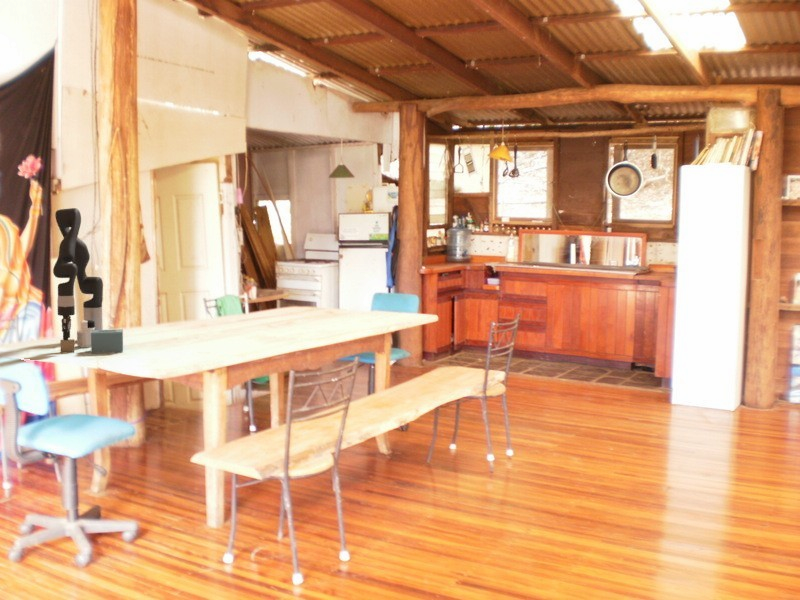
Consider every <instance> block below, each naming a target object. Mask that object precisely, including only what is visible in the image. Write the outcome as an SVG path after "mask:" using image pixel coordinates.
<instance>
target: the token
mask: <svg viewBox="0 0 800 600" xmlns="http://www.w3.org/2000/svg"><path fill="white" fill-rule="evenodd" d="M59 341H60V342H59V343H60V353H61V352H67V353H75V352H74V351H76V349H75V339H71V338H68V340H63V339H60V340H59Z"/></svg>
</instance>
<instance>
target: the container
mask: <svg viewBox="0 0 800 600" xmlns="http://www.w3.org/2000/svg"><path fill="white" fill-rule="evenodd" d="M94 329H95V322H94V321H93V320H84V319H83V320H82V321H80V330H77V331H76V346H77V347H81V348H85V347H87V348H91V332H92V330H94Z"/></svg>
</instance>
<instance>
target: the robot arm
mask: <svg viewBox="0 0 800 600" xmlns="http://www.w3.org/2000/svg"><path fill="white" fill-rule="evenodd" d="M55 220H56V221H55V222H56V224H57V226H58V228H59V231H60V233H61V235H62V237H63V238H62V240H61V242H60V244H59V247H58V256H57V260H56V262H55V264H54V267H53V269H52V273H53V275H54V277H55V278H58V279H68V281H65V282H61V283H58V285H57V301H56V302H57V316H60V317H62V319H61V320H60V321H61V332H62V340H68V339H71V329H72V328H71V327H72V318H71V316H74V315H75V313H76V312H75V309H76V308H75V306H76V305H75V295H74V293H75V291H74V290H75V287H74V286H75V281H76V279H77V284H78V287H79V290H80V292H81V293H82V294H83V295H84V294H85V295H92V298H90V299H88V300H86V301H85V300H84V302H83V303H82V305H83V306H82V307H83V309H82V310H83V311H82V312H83V320H93V321H94V322H95V329H94V330H103V301H104V299H103V298H104V297H103V296H104V294H103V293H104V288H103V287H104V283H103V278H102V277H99V276H87V272H86V268H87V266H88V264H89V262H90V258H91V257H90V256H91V255H90V251H89V249H88V246H87V244H86V243H85V242H84V241H83V240H82V239H81V238H80V237H78V235H79V233H80V228H81V223H82V215H81V212H80V210H79V208H75V207H72V208H71V207H69V208H62V209H57V210H56V211H55Z"/></svg>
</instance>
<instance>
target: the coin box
mask: <svg viewBox="0 0 800 600" xmlns="http://www.w3.org/2000/svg"><path fill="white" fill-rule="evenodd" d="M123 350H124V330H123V329H102V330H92V332H91V347H90V351H91V354H109V353H110V354H113V353H124V351H123Z"/></svg>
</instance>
